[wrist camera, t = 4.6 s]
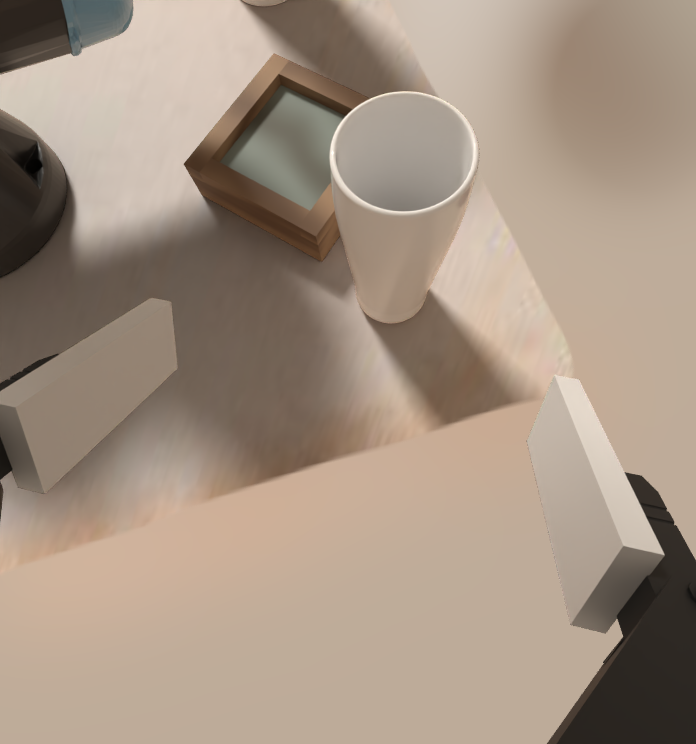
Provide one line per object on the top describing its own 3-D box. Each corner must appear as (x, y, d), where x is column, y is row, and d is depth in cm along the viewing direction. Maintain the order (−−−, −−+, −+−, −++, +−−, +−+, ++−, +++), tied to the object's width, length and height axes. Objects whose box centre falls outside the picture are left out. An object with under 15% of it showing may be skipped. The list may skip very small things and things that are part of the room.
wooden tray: (321, 261, 35) (315, 236, 31) (201, 194, 37) (183, 163, 34) (400, 149, 37) (403, 113, 34) (282, 92, 39) (273, 53, 36)
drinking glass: (357, 344, 33) (345, 234, 19) (337, 264, 35) (313, 106, 20) (446, 323, 33) (503, 197, 19) (422, 244, 35) (456, 73, 20)
